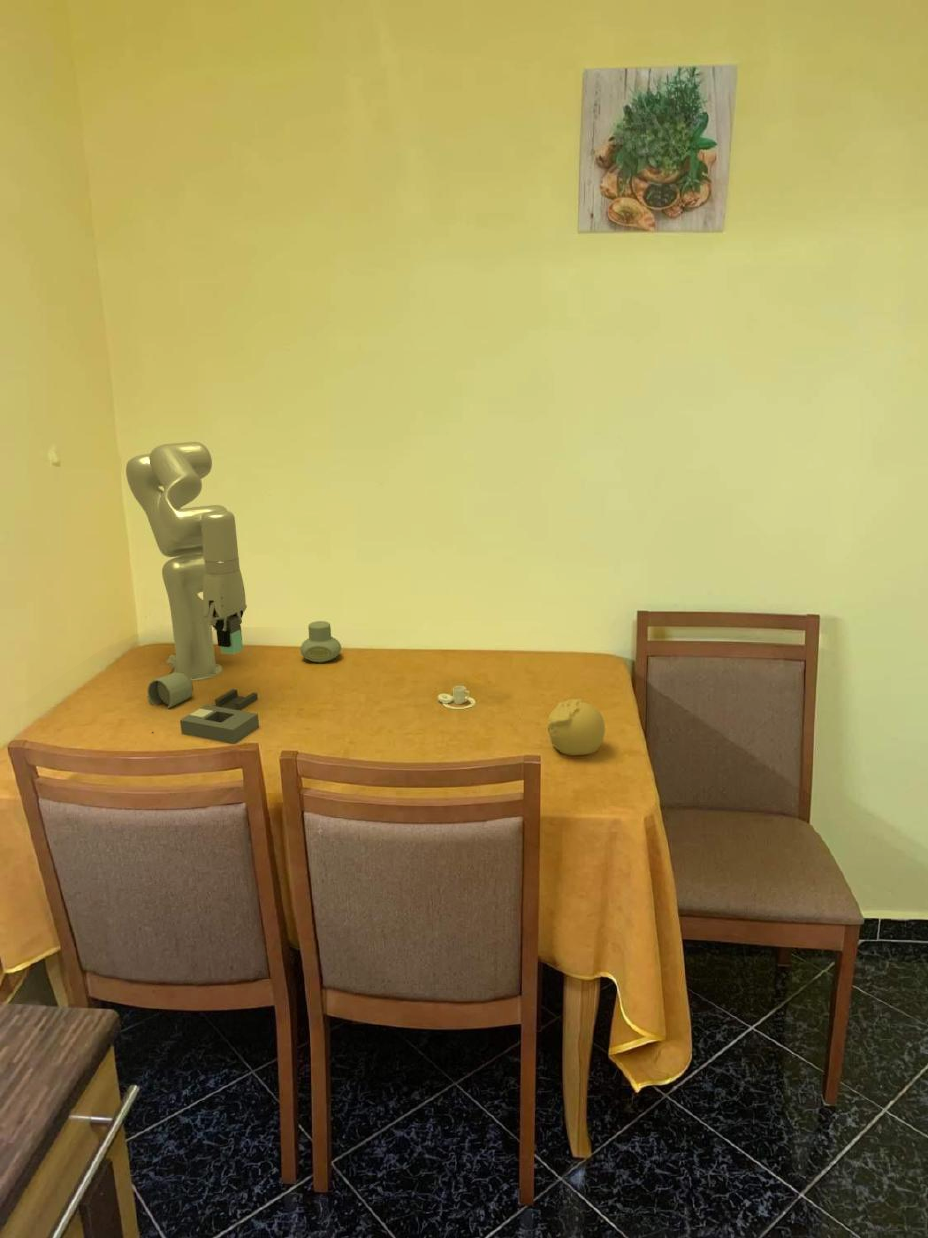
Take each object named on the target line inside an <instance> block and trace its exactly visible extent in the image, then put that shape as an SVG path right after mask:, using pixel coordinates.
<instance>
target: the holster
mask: <svg viewBox="0 0 928 1238" xmlns="http://www.w3.org/2000/svg"><path fill="white" fill-rule="evenodd" d="M238 694H239V693H238V689H234V688H232V689H230V690H229V691H228V692H226V693H224V694H222V695H220V696H219V697H217V698H215V699H214V706H217V707H223V708H228V709H234V710H240V711H243V709H245V708H248V706H250V705H251V704H253V703H255V702H256V701H257V700H258V699H259V696H258V693H257V692H251V693H250V694H248V695H246V696H240V695H238ZM258 701H259V700H258Z"/></svg>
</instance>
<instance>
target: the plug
mask: <svg viewBox="0 0 928 1238" xmlns="http://www.w3.org/2000/svg"><path fill="white" fill-rule="evenodd" d="M219 622H221V623H222V620H219ZM240 625H241V624H240V621H239V617H235V616H229V617H227V630H229V632H230V642H231V646H230V647H222V646H220V653H221V654H224V655H225V654H227V655H236V654H237V653H239V652H242V651H243V650H244V646H243V637H241V634H242V628H241V629H240Z"/></svg>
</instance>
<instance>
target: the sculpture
mask: <svg viewBox="0 0 928 1238" xmlns="http://www.w3.org/2000/svg"><path fill="white" fill-rule="evenodd" d="M605 730H606V728H605V721H604V717H603V716H602V713H600V711H599V710H598V709H597V708H596V707H594V706H593V705H591V704H589V703H586V702H584V701H583V700H582V699H581V698H579V699H577V698H574V699H573V698H571V699H568V700H563V701H560V702H558V703H557V705H556V706H555V708H554V709H553V710H552V711H551V712H550V714H549V715H548V721H547V732H548V734H549V740H550V742H551V744H552V745H553V746H554V747H555V748H556V749H557V751H559V752H560V753H562V754H565V755H567V756H568V755H570V756H584V755H590V754H593V753H595V752H596V751H598V749H599V748H600V747H601V745H602V744H603V741H604V739H605V732H606V731H605Z"/></svg>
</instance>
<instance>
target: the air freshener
mask: <svg viewBox="0 0 928 1238" xmlns="http://www.w3.org/2000/svg"><path fill="white" fill-rule="evenodd" d="M307 626H308V627H307V628H308V638H307V639H305V640H304V641H303V642H302V643H301V645H300V654H301V655H302V657H304V658H305V659H306V660H308V661H309V662H314V663H317V664H320V663H326V662H330V661H332V660H334V659H335V658H337V657H338V656H339V654H340V653H341V651H342V644H341V643H340V641H339V640H338V639H336V638H335V637H333V636H332V629H331V623H330V622H328V621H325V620H317V621H313V622H310V623H309V624H308V625H307Z"/></svg>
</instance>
